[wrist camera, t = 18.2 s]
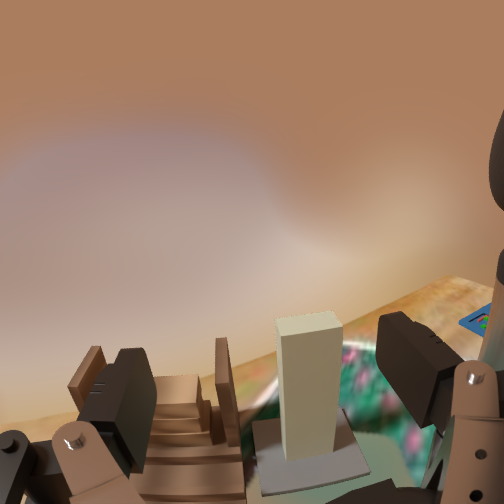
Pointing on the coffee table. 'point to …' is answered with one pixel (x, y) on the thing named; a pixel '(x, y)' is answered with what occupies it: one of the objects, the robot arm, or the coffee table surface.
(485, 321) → the handheld gaming device
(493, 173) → the robot arm
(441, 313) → the coffee table surface
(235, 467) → the walnut rack
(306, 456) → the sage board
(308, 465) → the grey mat
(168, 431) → the oak offcut stack
